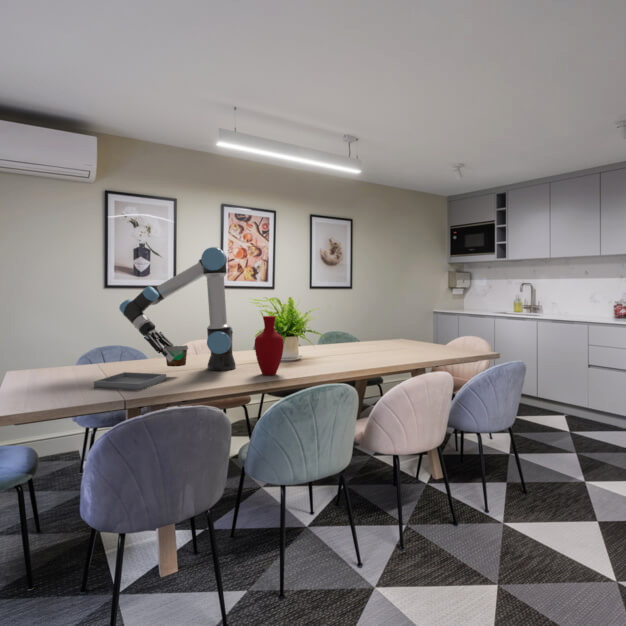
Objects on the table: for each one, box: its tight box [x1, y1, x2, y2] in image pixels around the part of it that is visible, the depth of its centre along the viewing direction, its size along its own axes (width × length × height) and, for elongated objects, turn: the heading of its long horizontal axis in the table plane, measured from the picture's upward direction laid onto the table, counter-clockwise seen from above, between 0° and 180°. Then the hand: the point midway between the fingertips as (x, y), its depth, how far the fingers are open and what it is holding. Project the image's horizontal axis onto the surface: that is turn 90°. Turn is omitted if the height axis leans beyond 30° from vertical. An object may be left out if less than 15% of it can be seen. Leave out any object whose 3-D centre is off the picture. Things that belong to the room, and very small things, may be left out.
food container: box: [163, 344, 189, 367], centre depth 219 cm, size 12×6×10 cm, turn 82°
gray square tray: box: [93, 371, 167, 391], centre depth 201 cm, size 22×22×3 cm
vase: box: [254, 315, 285, 376], centre depth 227 cm, size 15×15×30 cm
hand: (175, 358), depth 219 cm, fingers closed on food container, 6 cm apart
